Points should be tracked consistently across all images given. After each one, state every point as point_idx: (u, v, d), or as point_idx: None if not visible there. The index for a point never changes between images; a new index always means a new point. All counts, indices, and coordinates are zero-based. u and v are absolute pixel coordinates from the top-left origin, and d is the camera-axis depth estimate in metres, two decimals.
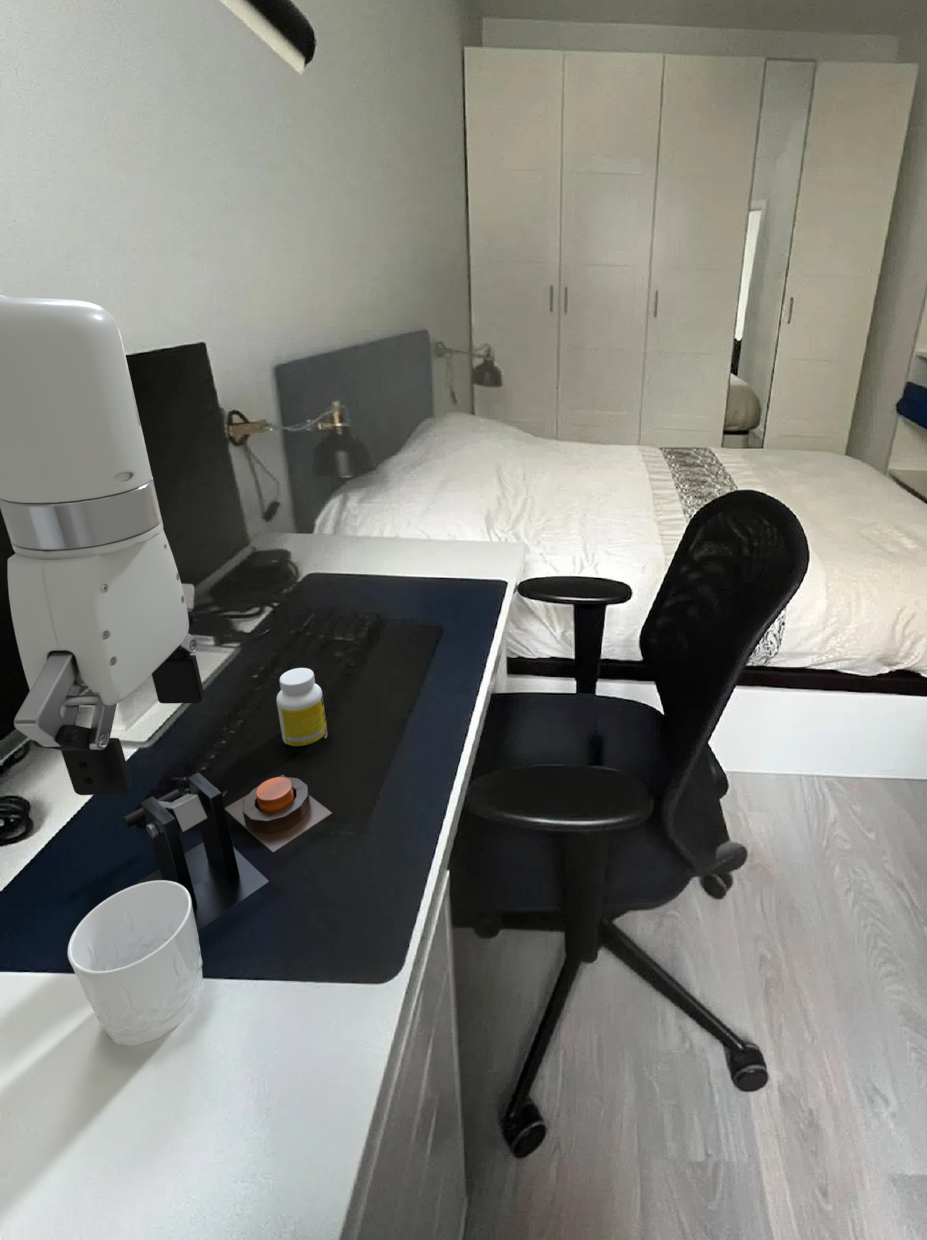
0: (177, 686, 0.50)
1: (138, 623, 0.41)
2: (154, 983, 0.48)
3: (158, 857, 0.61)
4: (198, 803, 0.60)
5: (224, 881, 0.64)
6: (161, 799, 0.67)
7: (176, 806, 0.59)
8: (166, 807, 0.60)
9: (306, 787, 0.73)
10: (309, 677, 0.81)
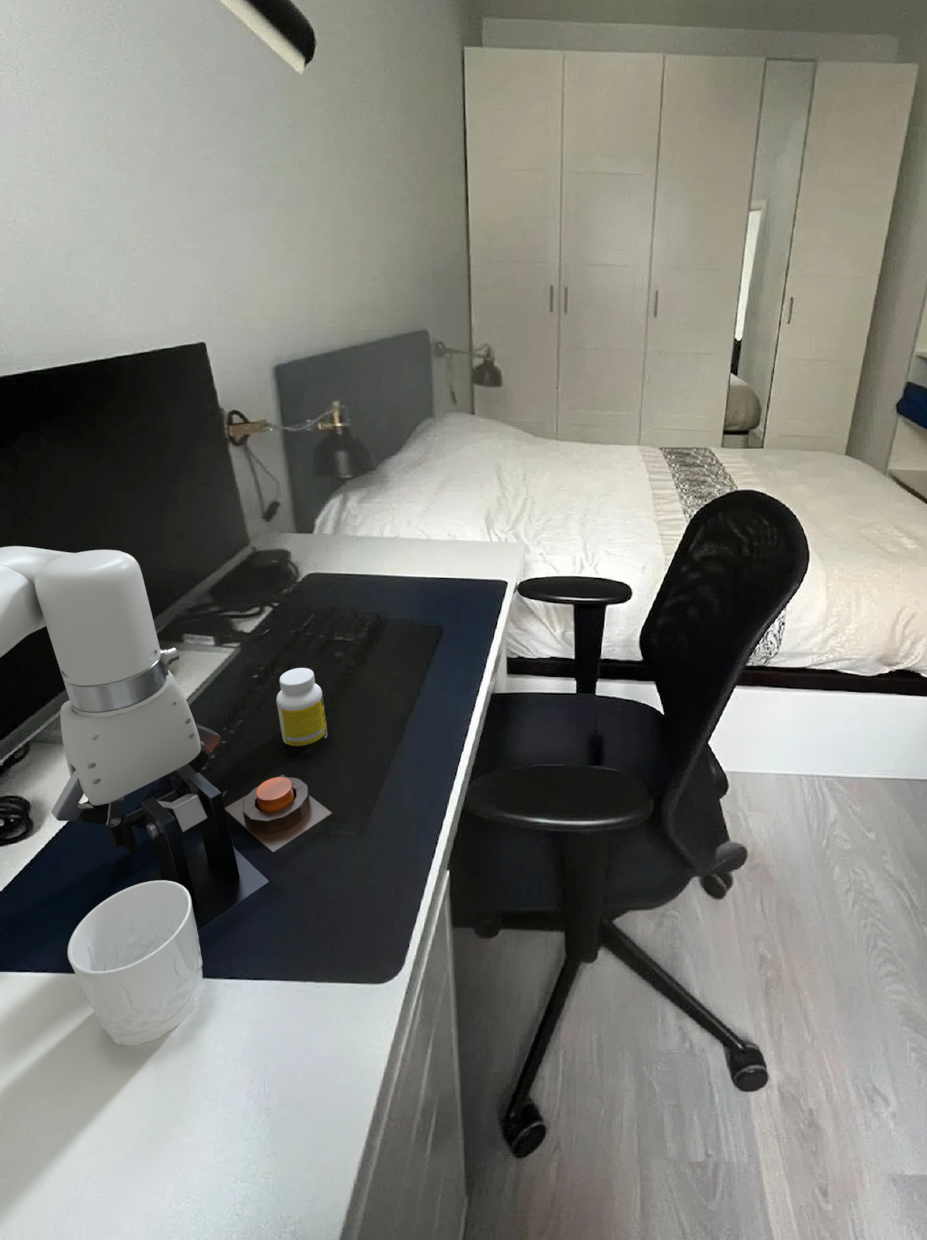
0: None
1: (127, 757, 0.61)
2: (154, 983, 0.48)
3: (158, 857, 0.61)
4: (198, 803, 0.60)
5: (224, 881, 0.64)
6: (161, 799, 0.67)
7: (176, 806, 0.59)
8: (166, 807, 0.60)
9: (306, 787, 0.73)
10: (309, 677, 0.81)
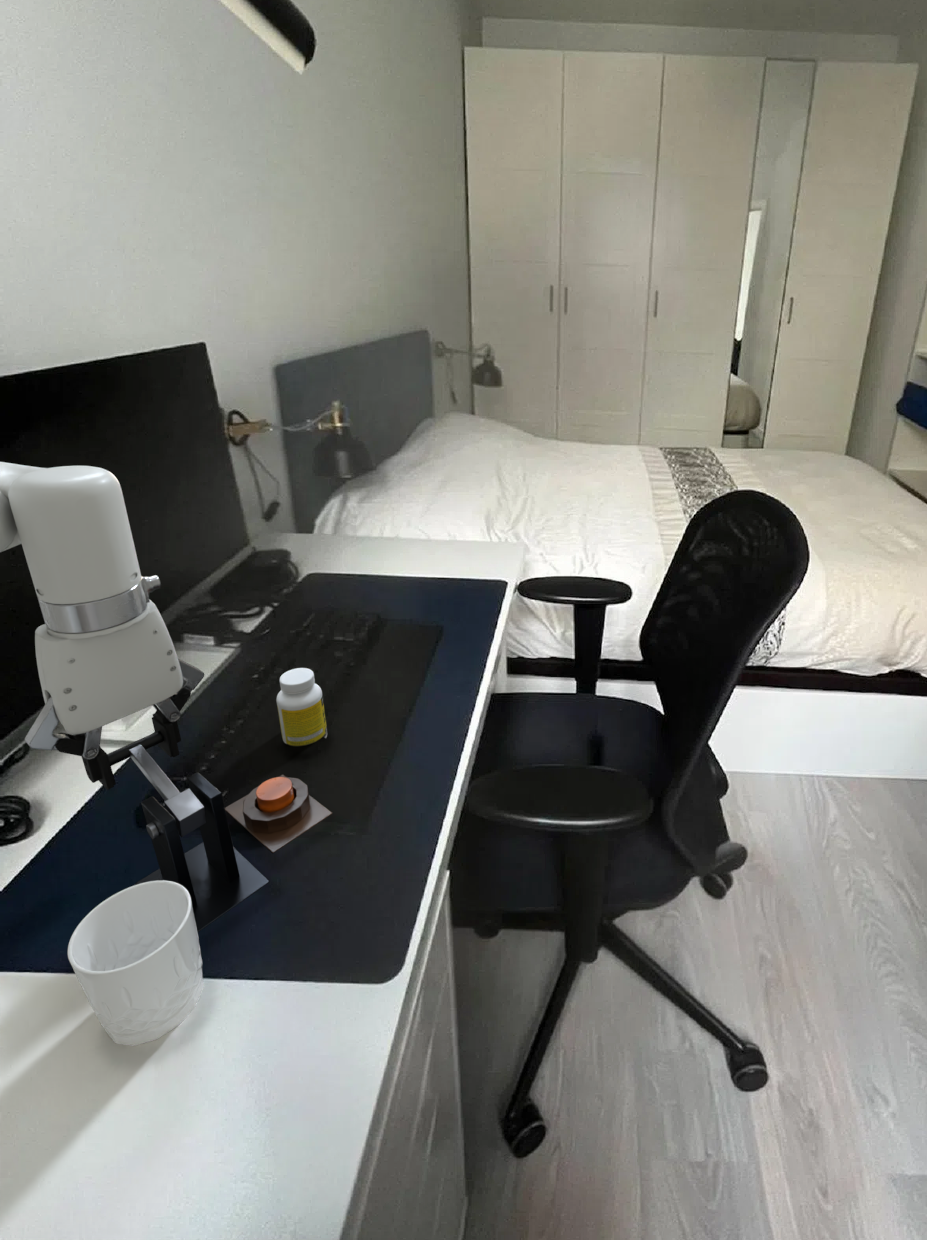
0: None
1: (105, 685, 0.59)
2: (154, 983, 0.48)
3: (158, 857, 0.61)
4: (202, 813, 0.60)
5: (224, 881, 0.64)
6: (144, 743, 0.65)
7: (183, 818, 0.58)
8: (169, 807, 0.59)
9: (306, 787, 0.73)
10: (309, 677, 0.81)
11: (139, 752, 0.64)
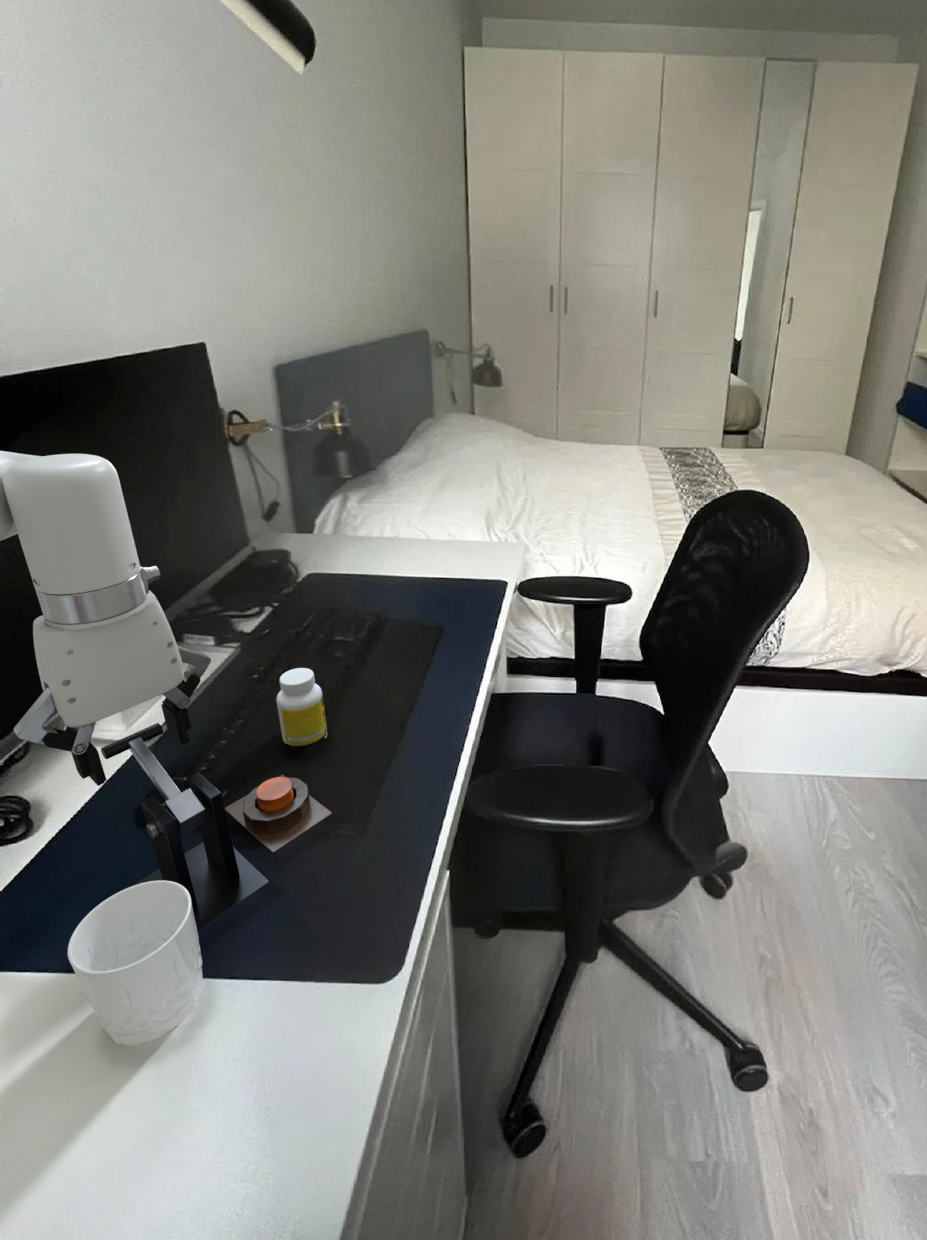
0: (172, 727, 0.66)
1: (104, 677, 0.58)
2: (154, 983, 0.48)
3: (158, 857, 0.61)
4: (203, 815, 0.60)
5: (224, 881, 0.64)
6: (144, 736, 0.64)
7: (184, 820, 0.58)
8: (170, 808, 0.59)
9: (306, 787, 0.73)
10: (309, 677, 0.81)
11: (138, 745, 0.63)
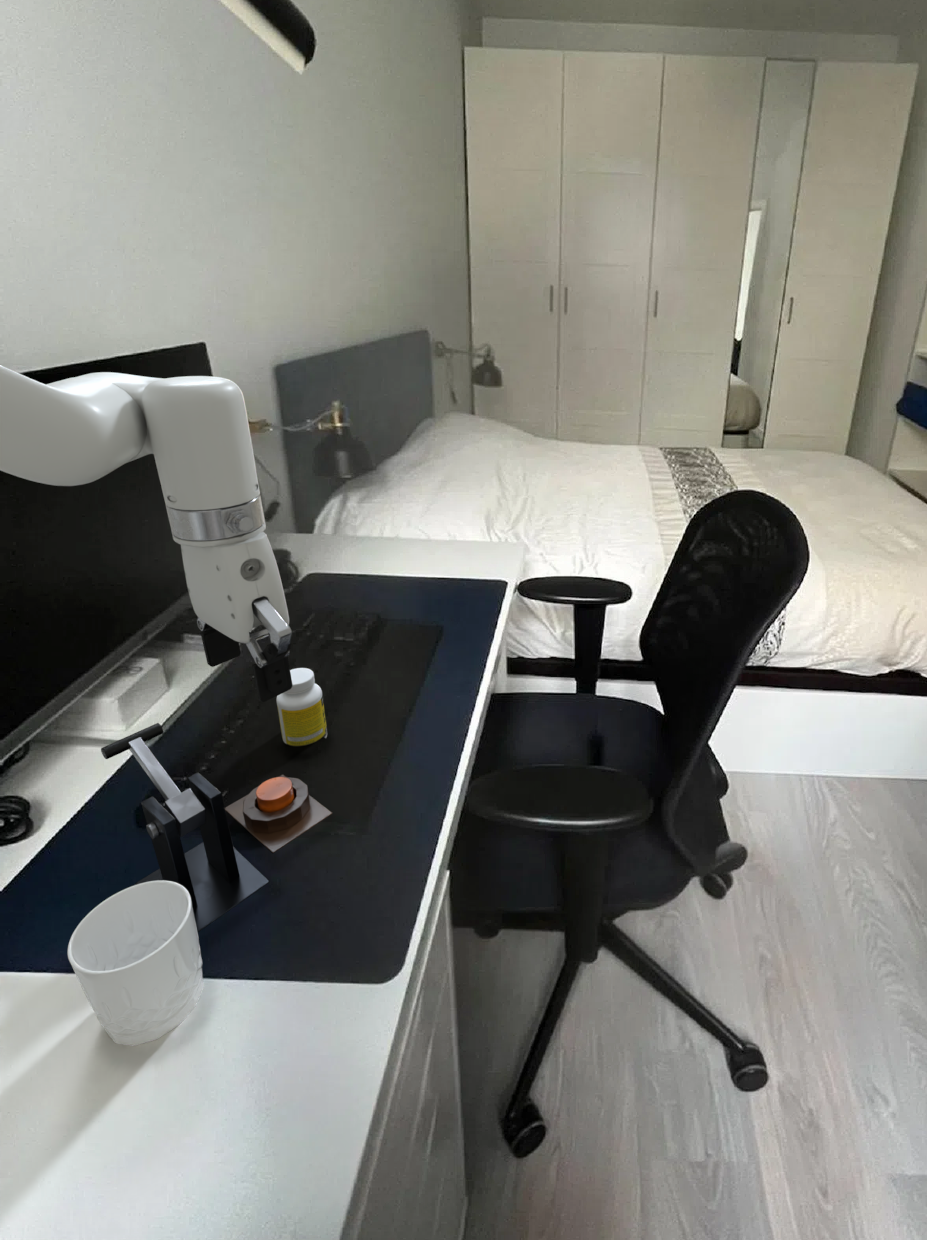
0: None
1: (196, 588, 0.61)
2: (154, 983, 0.48)
3: (158, 857, 0.61)
4: (203, 815, 0.60)
5: (224, 881, 0.64)
6: (144, 736, 0.64)
7: (184, 820, 0.58)
8: (170, 808, 0.59)
9: (306, 787, 0.73)
10: (309, 677, 0.81)
11: (138, 745, 0.63)
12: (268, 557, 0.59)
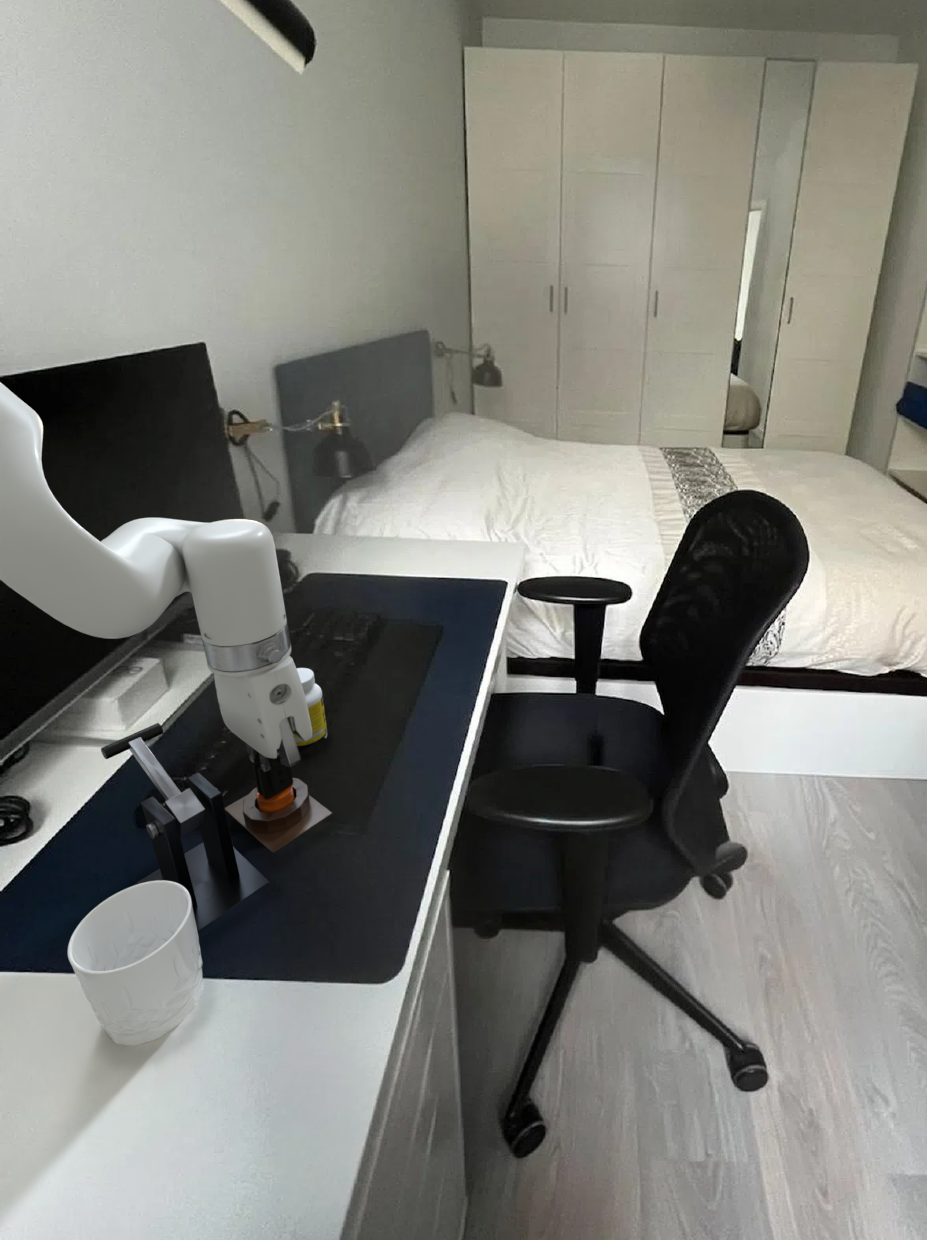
0: None
1: (228, 706, 0.66)
2: (154, 983, 0.48)
3: (158, 857, 0.61)
4: (203, 815, 0.60)
5: (224, 881, 0.64)
6: (144, 736, 0.64)
7: (184, 820, 0.58)
8: (170, 808, 0.59)
9: (306, 787, 0.73)
10: (309, 677, 0.81)
11: (138, 745, 0.63)
12: (294, 680, 0.64)
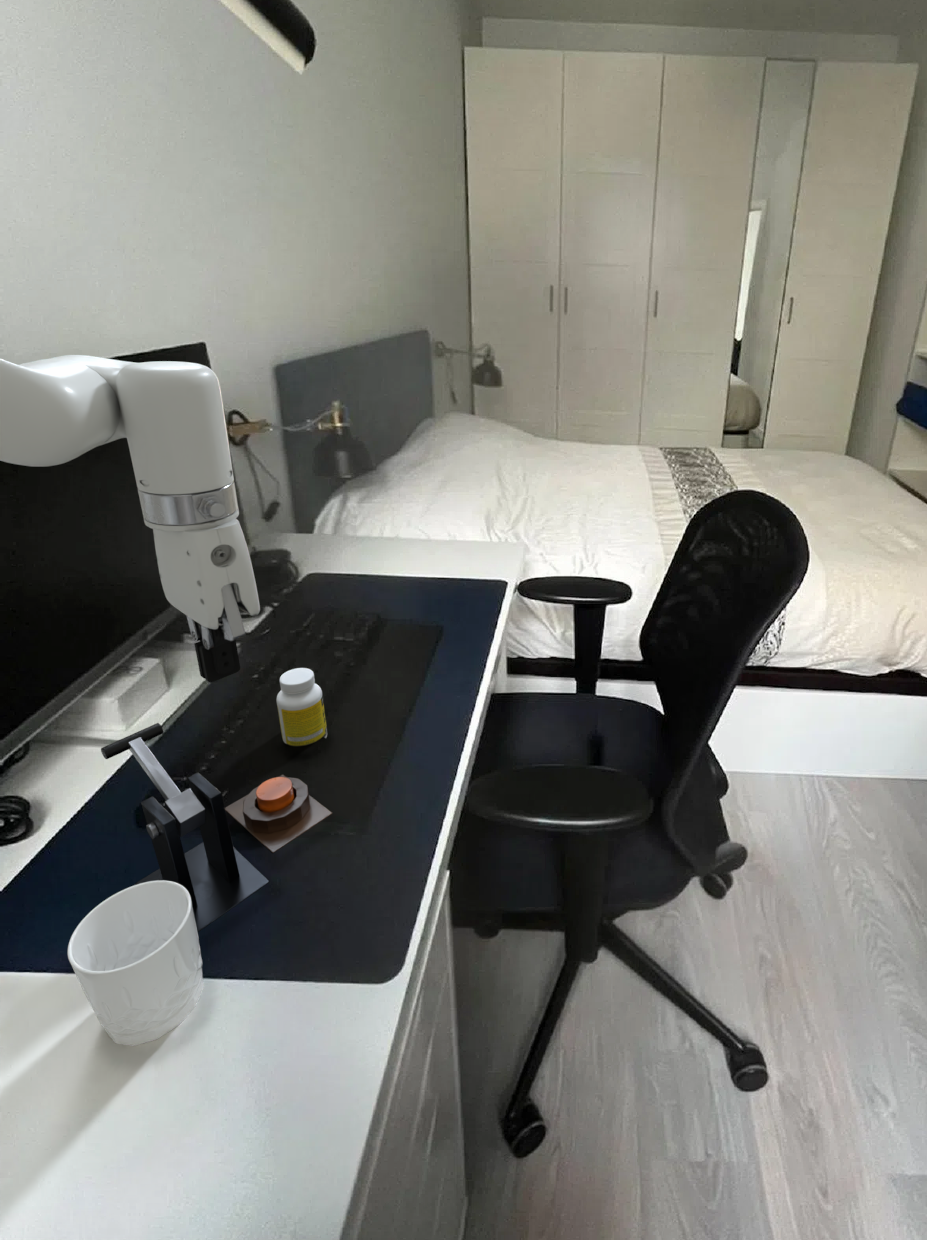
0: None
1: (167, 573, 0.61)
2: (154, 983, 0.48)
3: (158, 857, 0.61)
4: (203, 815, 0.60)
5: (224, 881, 0.64)
6: (144, 736, 0.64)
7: (184, 820, 0.58)
8: (170, 808, 0.59)
9: (306, 787, 0.73)
10: (309, 677, 0.81)
11: (138, 745, 0.63)
12: (239, 544, 0.59)
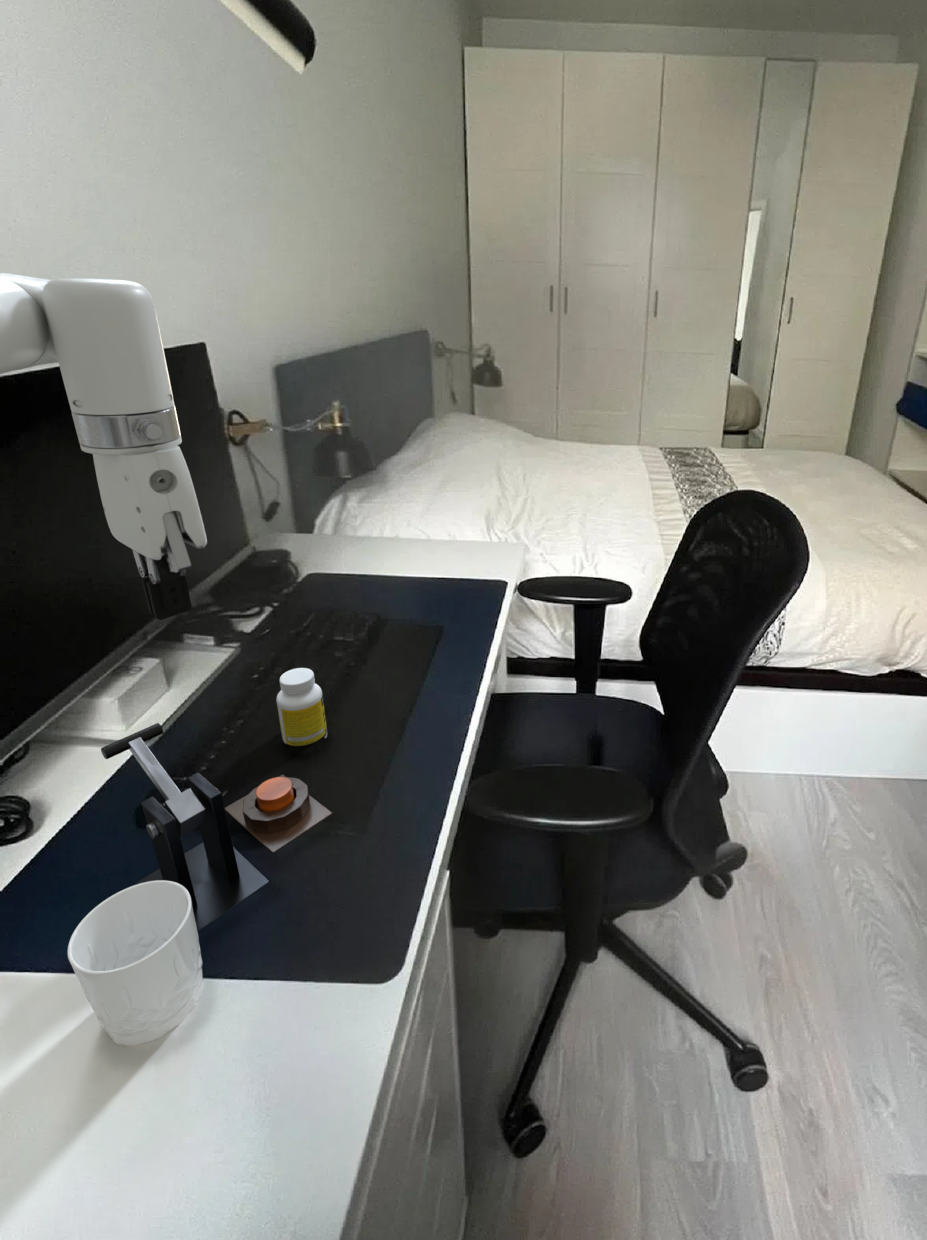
0: None
1: (109, 504, 0.59)
2: (154, 983, 0.48)
3: (158, 857, 0.61)
4: (203, 815, 0.60)
5: (224, 881, 0.64)
6: (144, 736, 0.64)
7: (184, 820, 0.58)
8: (170, 808, 0.59)
9: (306, 787, 0.73)
10: (309, 677, 0.81)
11: (138, 745, 0.63)
12: (181, 470, 0.57)
